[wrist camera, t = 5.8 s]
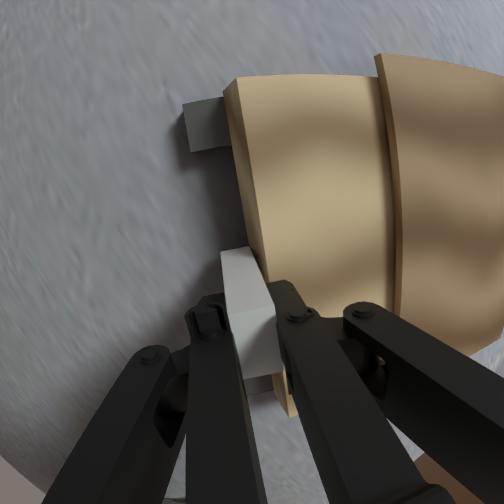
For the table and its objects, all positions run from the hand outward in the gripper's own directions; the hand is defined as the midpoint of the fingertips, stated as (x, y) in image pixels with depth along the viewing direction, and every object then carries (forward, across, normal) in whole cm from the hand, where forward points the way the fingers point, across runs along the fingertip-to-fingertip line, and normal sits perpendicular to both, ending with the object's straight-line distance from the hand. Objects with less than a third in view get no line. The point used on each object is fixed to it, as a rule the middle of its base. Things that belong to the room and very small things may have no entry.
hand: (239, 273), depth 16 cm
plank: (+2, +6, 0) cm, 6 cm away
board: (+2, +14, 0) cm, 14 cm away
